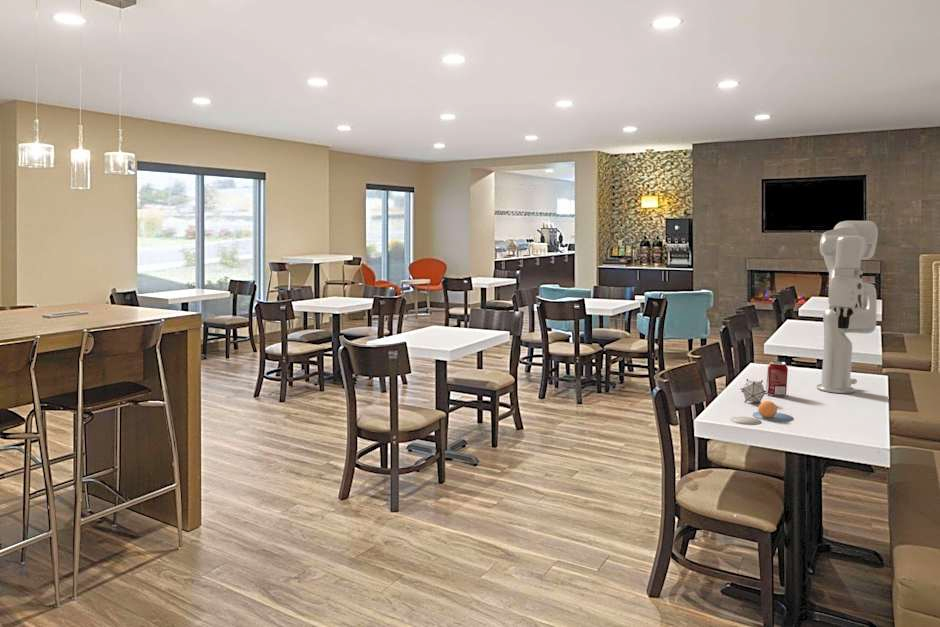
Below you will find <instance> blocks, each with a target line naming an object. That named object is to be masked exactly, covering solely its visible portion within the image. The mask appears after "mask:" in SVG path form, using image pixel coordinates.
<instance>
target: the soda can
mask: <svg viewBox="0 0 940 627" xmlns="http://www.w3.org/2000/svg"><path fill="white" fill-rule="evenodd" d="M766 369H767V370H766V371H767V372H766V387H765V389H766V390H765V391H767V392H765V393H767V394H766V395H768V396H770V395H772V396H771V397H775V396H782V397H784V396H786V395H787V388H788V371H789V370H788V366H787V362H785V361H775V360H774V361H769V364H768V365H767V368H766Z"/></svg>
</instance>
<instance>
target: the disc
mask: <svg viewBox="0 0 940 627" xmlns="http://www.w3.org/2000/svg"><path fill="white" fill-rule="evenodd" d="M752 416H753V418H755V419H758V420H763V421H767V420H768V421H770V422H776V421H779V422H780V423H781V422H783V421H785V422H783V423H786V421H787V422H791V420H792V421H793V420H794V417H793V416H792V415H790V414H786V413H782V412H777V413H776V415H775V416H774V417H772V418H764V417H762V416H761V415H760V414H759V411H756V412H754V413H752ZM768 421H767V422H768ZM779 422H778V423H779Z"/></svg>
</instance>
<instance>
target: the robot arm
mask: <svg viewBox="0 0 940 627" xmlns="http://www.w3.org/2000/svg"><path fill="white" fill-rule="evenodd" d="M878 235H879V231H878V226H877V224H876V223H875V222H874V221H871V220H844V221H843V220H842V221H839V222H838V223H837V224H835V226H834V227H833V229H830V230H826V231H825V232H823V233H822V234H821V236H820V240H819V253H820V255H821V256H822V257H823V259H824V263H825V266H826V269H827V271H828V274H829V275H828V276H829V277H828V305H829V307H827V308H826V309H825V310H824V312H823V315H822V318H823V319H822V321H823V334H824V335H823V338H824V339H823V354H822V369H821V371H822V372H821V383H818V384H816V389H817V390H820V391H822V392H828V393H834V394H852V393H854V392H855V388H854V387H852V386H851V385H856V384H857V383H858V380H857V379H856V378H852V377H851V373H852V372H851V371H852V370H851V369H852V359H853V358H852V357H853V343H852V341H851V339H850V338H849V337H848V336H847V335H846V334H848V333H849V334H867V335H868V334H871V333H873V332H874V331H875V330H876V328H877V327H876V326H877V303H878V302H877V300H878V299H877V290H876V287H875V285H873V284H872V283H870V282H863V278H861V276H862V275H863V273H864V271H862V270H861V263H862V260H871V259H872V258H873V257H874V255H875V252H876V247H877V242H878V237H879V236H878Z"/></svg>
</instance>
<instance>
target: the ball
mask: <svg viewBox="0 0 940 627" xmlns="http://www.w3.org/2000/svg"><path fill="white" fill-rule="evenodd" d="M757 410H758V411H757V412H759V414H760V415H761V416H762V417H764V418H772V417H774V416H775V415H776V413H778V408H777V406H776V404H775V403H774V402H772V401H771V400H764V401H761V404H760V403H759V405H758V408H757Z"/></svg>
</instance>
